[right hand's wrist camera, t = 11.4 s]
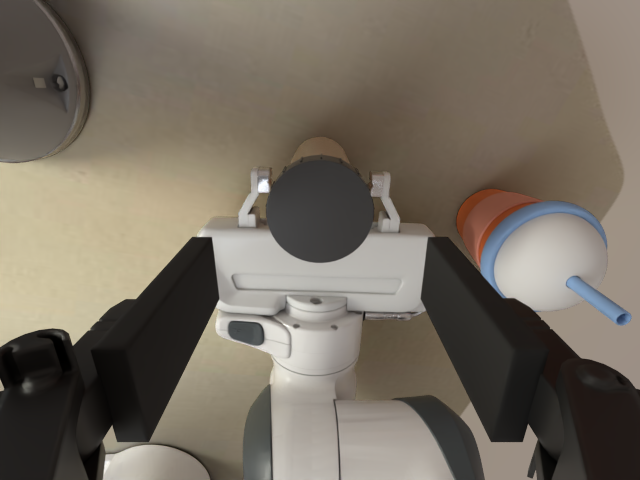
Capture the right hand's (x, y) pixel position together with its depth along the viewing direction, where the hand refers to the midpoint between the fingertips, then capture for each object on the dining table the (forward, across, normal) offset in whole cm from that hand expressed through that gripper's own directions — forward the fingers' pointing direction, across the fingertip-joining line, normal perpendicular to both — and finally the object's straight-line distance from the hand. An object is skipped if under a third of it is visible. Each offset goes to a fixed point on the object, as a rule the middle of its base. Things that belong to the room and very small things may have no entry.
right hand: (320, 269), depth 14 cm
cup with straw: (+23, -17, +5) cm, 29 cm away
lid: (+7, 0, 0) cm, 7 cm away
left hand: (+16, 0, -1) cm, 16 cm away
